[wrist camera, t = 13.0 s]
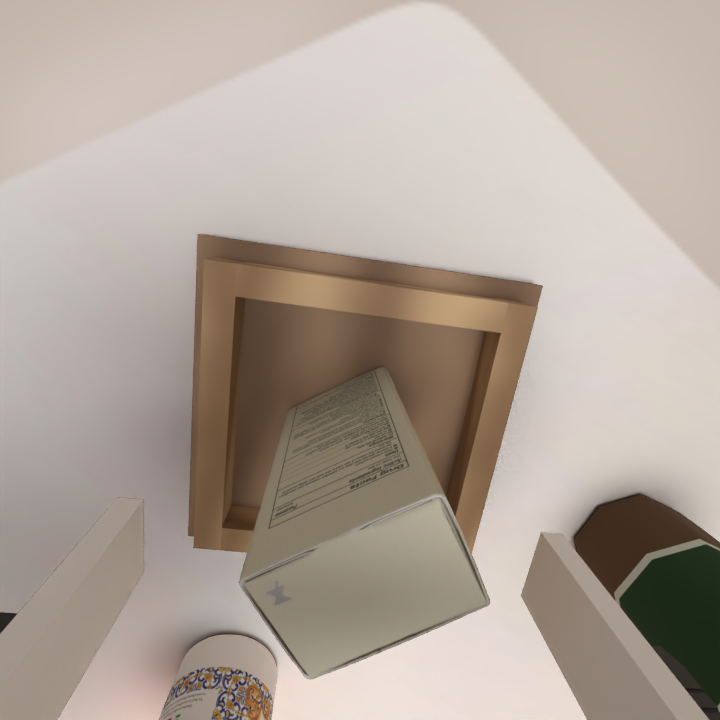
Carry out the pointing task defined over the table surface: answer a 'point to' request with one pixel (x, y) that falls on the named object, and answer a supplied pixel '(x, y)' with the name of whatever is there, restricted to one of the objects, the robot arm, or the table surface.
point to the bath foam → (223, 681)
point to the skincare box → (355, 533)
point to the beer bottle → (660, 579)
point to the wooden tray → (344, 367)
